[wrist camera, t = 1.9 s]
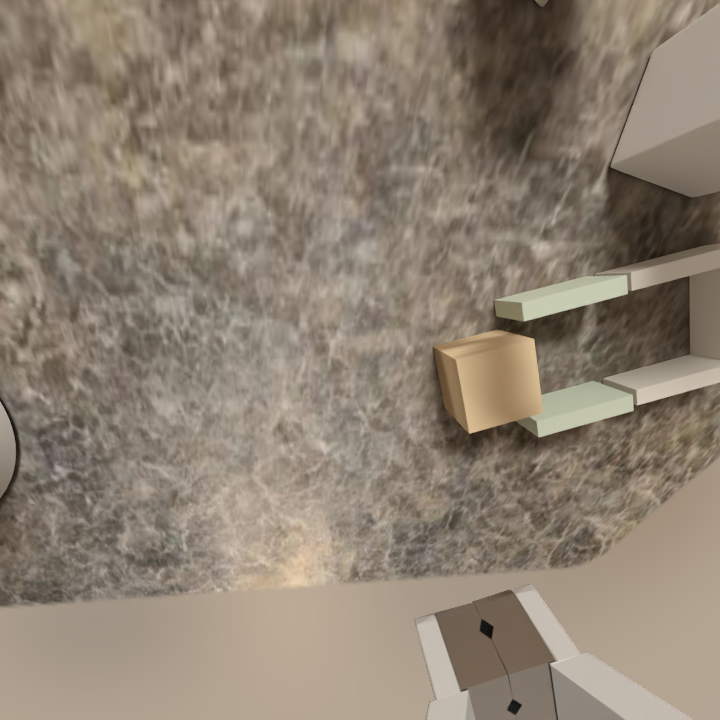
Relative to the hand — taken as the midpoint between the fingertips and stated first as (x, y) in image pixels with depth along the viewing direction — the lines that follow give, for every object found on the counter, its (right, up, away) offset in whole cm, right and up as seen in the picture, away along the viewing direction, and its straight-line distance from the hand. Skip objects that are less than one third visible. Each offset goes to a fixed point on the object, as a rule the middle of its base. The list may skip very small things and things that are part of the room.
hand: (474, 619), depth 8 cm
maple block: (+5, +6, +17) cm, 19 cm away
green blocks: (+11, +7, +17) cm, 22 cm away
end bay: (+19, +9, +18) cm, 27 cm away
